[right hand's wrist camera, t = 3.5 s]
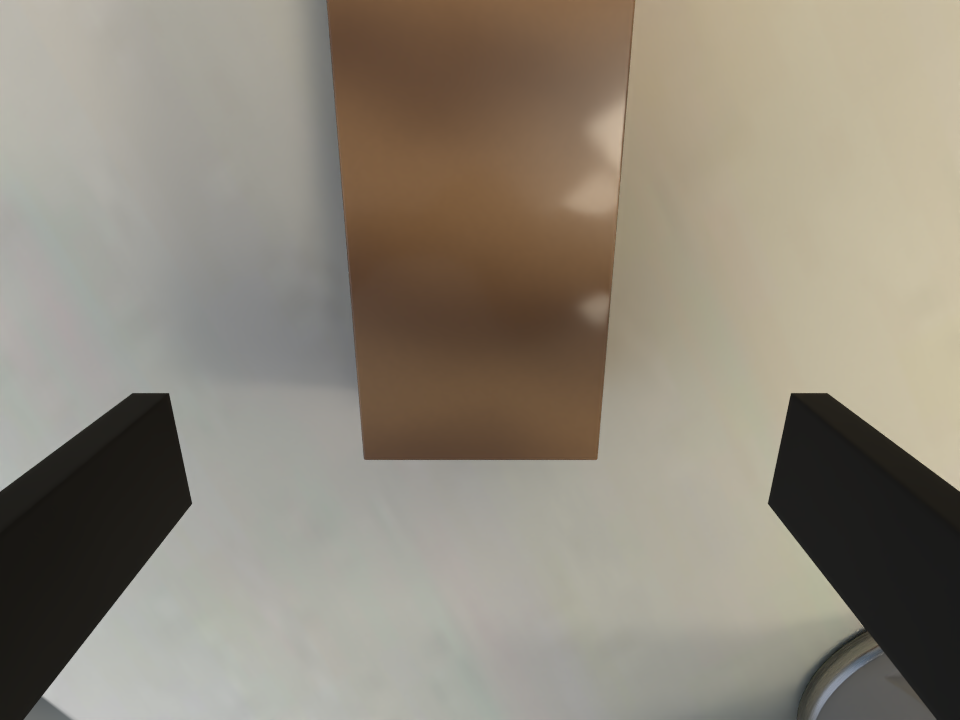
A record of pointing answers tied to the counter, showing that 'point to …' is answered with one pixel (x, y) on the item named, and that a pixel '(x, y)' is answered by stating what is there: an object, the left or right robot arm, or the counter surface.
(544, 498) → the counter surface
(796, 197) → the counter surface
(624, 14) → the wooden beam
